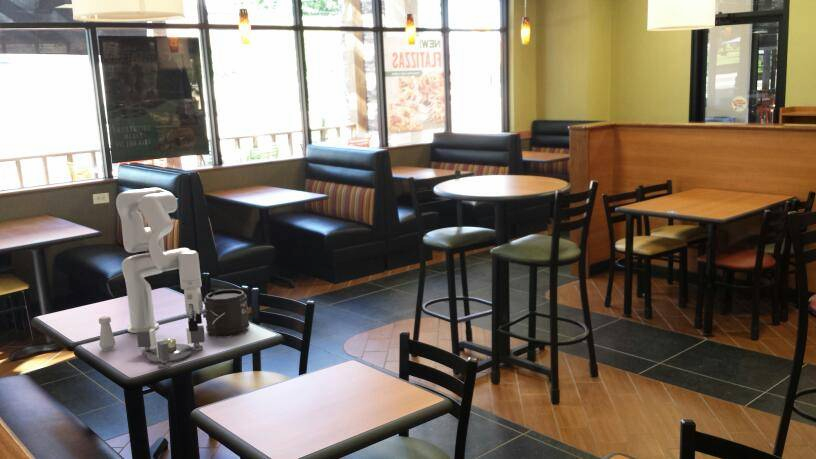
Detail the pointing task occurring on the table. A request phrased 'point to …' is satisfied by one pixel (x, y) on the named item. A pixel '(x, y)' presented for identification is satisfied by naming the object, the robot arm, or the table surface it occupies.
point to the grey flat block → (146, 338)
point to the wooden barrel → (226, 313)
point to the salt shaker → (106, 334)
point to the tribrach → (171, 353)
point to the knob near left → (195, 336)
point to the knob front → (162, 350)
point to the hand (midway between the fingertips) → (195, 327)
